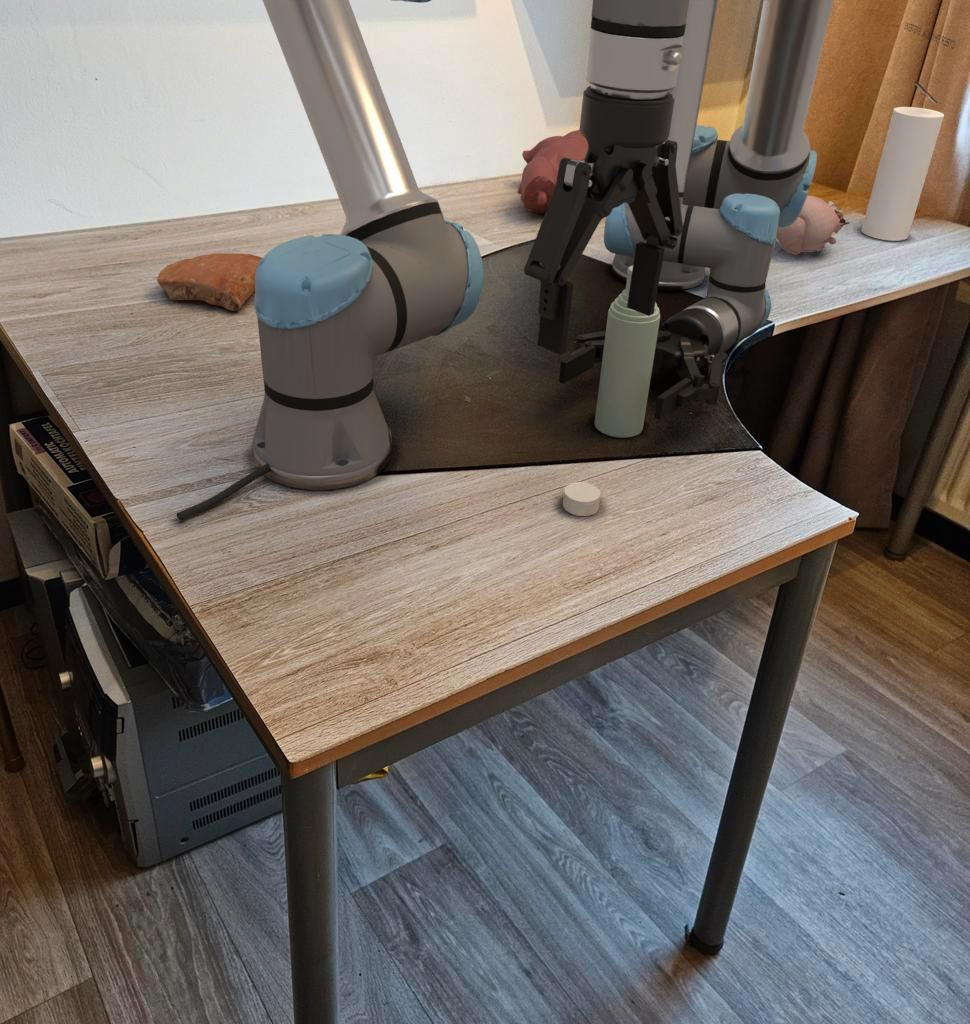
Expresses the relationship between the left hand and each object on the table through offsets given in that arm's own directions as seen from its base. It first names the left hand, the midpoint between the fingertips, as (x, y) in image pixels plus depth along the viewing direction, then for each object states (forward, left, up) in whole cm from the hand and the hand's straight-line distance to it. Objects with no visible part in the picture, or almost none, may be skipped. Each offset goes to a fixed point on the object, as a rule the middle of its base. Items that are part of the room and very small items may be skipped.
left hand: (597, 329), depth 91 cm
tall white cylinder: (+114, -31, -20) cm, 120 cm away
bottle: (+19, 0, -20) cm, 27 cm away
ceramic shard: (+36, +66, -20) cm, 78 cm away
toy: (+97, -17, -20) cm, 100 cm away
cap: (0, 0, -18) cm, 18 cm away
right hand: (+15, +1, -14) cm, 21 cm away
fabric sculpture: (+105, +28, -20) cm, 110 cm away
